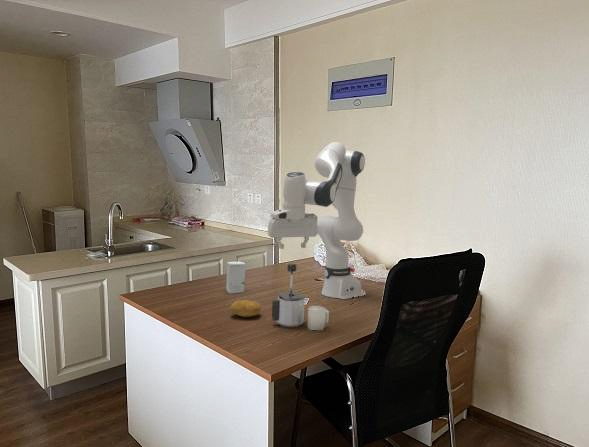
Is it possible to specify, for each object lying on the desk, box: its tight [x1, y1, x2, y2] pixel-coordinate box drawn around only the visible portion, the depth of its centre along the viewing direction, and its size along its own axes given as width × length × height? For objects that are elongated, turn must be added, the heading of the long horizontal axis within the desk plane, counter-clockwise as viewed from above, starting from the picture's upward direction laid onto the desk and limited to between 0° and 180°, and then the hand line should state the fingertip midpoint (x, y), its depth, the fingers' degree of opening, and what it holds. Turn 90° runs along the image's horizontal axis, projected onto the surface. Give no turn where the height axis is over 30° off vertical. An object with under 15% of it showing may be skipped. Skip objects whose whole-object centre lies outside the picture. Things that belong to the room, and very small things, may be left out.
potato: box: [230, 299, 262, 318], centre depth 185 cm, size 9×13×7 cm
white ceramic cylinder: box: [306, 305, 330, 331], centre depth 174 cm, size 8×7×8 cm
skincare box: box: [225, 261, 246, 294], centre depth 219 cm, size 8×6×15 cm
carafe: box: [271, 290, 305, 328], centre depth 178 cm, size 13×11×12 cm
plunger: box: [281, 263, 297, 301], centre depth 177 cm, size 8×8×15 cm
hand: (292, 248), depth 175 cm, fingers open, 8 cm apart
